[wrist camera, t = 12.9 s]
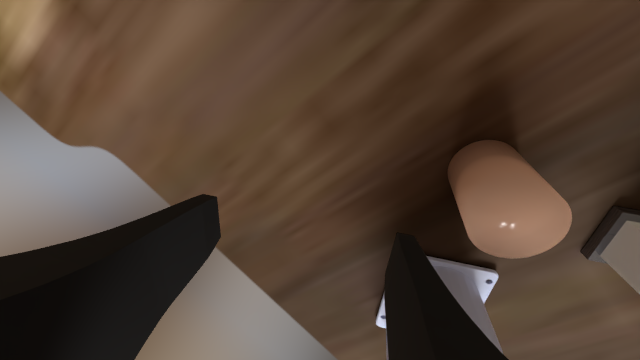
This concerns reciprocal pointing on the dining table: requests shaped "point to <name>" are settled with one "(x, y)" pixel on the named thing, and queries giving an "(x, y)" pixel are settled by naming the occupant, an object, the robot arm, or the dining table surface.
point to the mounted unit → (618, 244)
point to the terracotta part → (506, 201)
